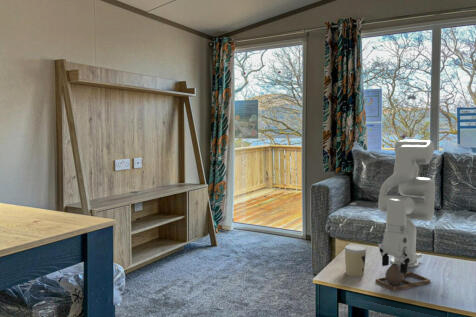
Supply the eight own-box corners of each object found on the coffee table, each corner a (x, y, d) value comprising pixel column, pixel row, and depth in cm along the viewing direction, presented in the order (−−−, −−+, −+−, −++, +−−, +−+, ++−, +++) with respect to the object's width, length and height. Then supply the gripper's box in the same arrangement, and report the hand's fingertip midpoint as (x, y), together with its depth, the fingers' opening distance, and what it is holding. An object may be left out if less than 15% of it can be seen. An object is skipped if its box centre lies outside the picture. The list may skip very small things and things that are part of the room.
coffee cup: (366, 278, 169) (367, 251, 168) (344, 276, 171) (345, 249, 170) (364, 270, 178) (364, 244, 177) (343, 268, 180) (343, 243, 179)
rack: (405, 272, 175) (405, 269, 175) (430, 283, 164) (430, 279, 163) (370, 280, 166) (370, 276, 166) (394, 291, 155) (394, 288, 155)
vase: (401, 289, 157) (402, 268, 156) (383, 285, 161) (384, 265, 160) (404, 283, 163) (404, 263, 162) (387, 280, 166) (387, 260, 166)
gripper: (419, 232, 153) (418, 274, 154) (386, 223, 169) (385, 261, 170) (406, 233, 150) (404, 277, 151) (373, 224, 166) (372, 263, 167)
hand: (394, 269), depth 160 cm, fingers open, 9 cm apart
